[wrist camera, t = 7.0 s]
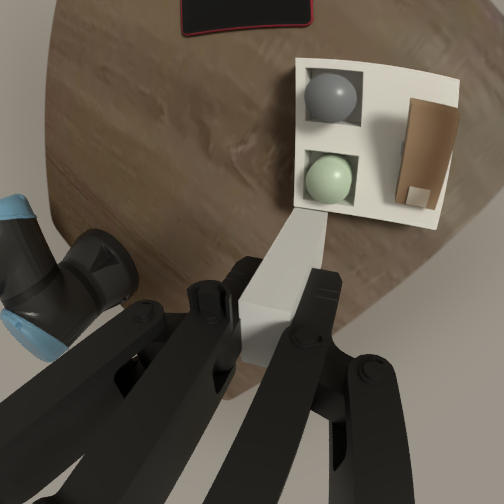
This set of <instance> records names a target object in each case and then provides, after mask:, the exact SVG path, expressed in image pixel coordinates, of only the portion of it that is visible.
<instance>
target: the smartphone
mask: <svg viewBox="0 0 504 504" xmlns="http://www.w3.org/2000/svg"><path fill="white" fill-rule="evenodd" d="M312 22H313V0H181V23H182V32H183V34H184V35H187V36H190V35H196V34H203V33H210V32H217V31H226V30H235V29H246V28H260V27H282V26H308V25H310V24H311V23H312Z"/></svg>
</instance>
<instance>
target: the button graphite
mask: <svg viewBox="0 0 504 504" xmlns="http://www.w3.org/2000/svg"><path fill="white" fill-rule="evenodd" d="M304 100H305V104H306V107H307V109H308V110H309V112H310V113H311V114H312V115H313V116H314V117H316V118H317V119H319V120H321V121H324V122H328V123H335V122H339V121H342V120H344V119H346V118H347V117H348V116H349V115H350V114H351V113H352V111H353V109H354V108H355V106H356V103H357V91H356V89H355V87H354V85H353V84H352V82H351V81H349V80H348V79H347V78H345V77H343V76H341V75H336V74H321V75H318V76H316V77H314V78H313V79H312V80H311V81H310V82H309V83H308V85H307V87H306V89H305V93H304Z"/></svg>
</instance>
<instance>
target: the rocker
mask: <svg viewBox="0 0 504 504" xmlns="http://www.w3.org/2000/svg"><path fill="white" fill-rule="evenodd" d="M459 120H460V113H459V111H458V109H457V108H456V107H452V106H448V105H444V104H439V103H435V102H430V101H425V100H420V99H415V98H410V104H409V112H408V120H407V127H406V134H405V141H404V147H403V154H402V160H401V165H400V171H399V176H398V181H397V186H396V191H395V203H399V204H405V205H410V206H416V207H421V208H426V209H431V210H435V208H436V205H437V202H438V199H439V196H440V193H441V189H442V186H443V183H444V179H445V176H446V172H447V169H448V165H449V161H450V158H451V154H452V150H453V146H454V142H455V138H456V133H457V129H458V124H459Z"/></svg>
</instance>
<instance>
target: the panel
mask: <svg viewBox="0 0 504 504" xmlns="http://www.w3.org/2000/svg"><path fill="white" fill-rule="evenodd" d="M321 74H336V75H341V76H343V77H345V78H347V79H348V80H349V81H351V82H352V84H353V85H354V87H355V89H356V91H357V103H356V106H355V108H354V109H353V111H352V113H351V114H350V115H349V116H348V117H347V118H346V119H344V120H342V121H339V122H335V123H328V122H324V121H321V120H319V119H317V118H316V117H314V116H313V115H312V114H311V113H310V112H309V110H308V109H307V107H306V104H305V100H304V93H305V89H306V87H307V85H308V83H309V82H310V81H311V80H312V79H313V78H314V77H316V76H318V75H321ZM458 96H459V80H458V79H454V78H450V77H446V76H442V75H437V74H433V73H428V72H423V71H418V70H413V69H407V68H401V67H395V66H389V65H382V64H374V63H366V62H357V61H346V60H333V59H315V58H296V136H295V183H294V206H295V207H302V208H309V209H316V210H323V211H330V212H336V213H342V214H349V215H355V216H361V217H367V218H373V219H379V220H385V221H391V222H396V223H402V224H407V225H413V226H418V227H423V228H428V229H433V230H436V229H437V225H438V221H439V217H440V213H441V208H442V204H443V199H444V195H445V190H446V185H447V180H448V174H449V169H450V163H451V158H450V161H449V165H448V169H447V172H446V176H445V179H444V183H443V186H442V189H441V193H440V196H439V199H438V202H437V205H436V208H435V210H431V209H426V208H421V207H416V206H410V205H405V204H399V203H395V191H396V186H397V181H398V176H399V171H400V165H401V160H402V154H403V147H404V141H405V134H406V127H407V120H408V112H409V104H410V98H415V99H420V100H425V101H430V102H435V103H439V104H444V105H448V106H452V107H456V108H457V109H458ZM327 152H332V153H340V154H342V155H343V156H345V157H346V158H347V159H348V160H349V161H350V163H351V165H352V168H353V177H352V181H351V186H350V190H349V193H348V195H347V196H346V197H345V198H344V199H343V200H342V201H341V202H339V203H336V204H323V203H320V202H318V201H316V200H315V199H314V198H313V197H312V196H311V195H310V194H309V192H308V190H307V188H306V175H307V173H308V171H309V169H310V168H311V166H312V165H313V164H314V162H315V161H316V159H317V158H318V157H319V156H320V155H322V154H324V153H327ZM451 157H452V154H451Z"/></svg>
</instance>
